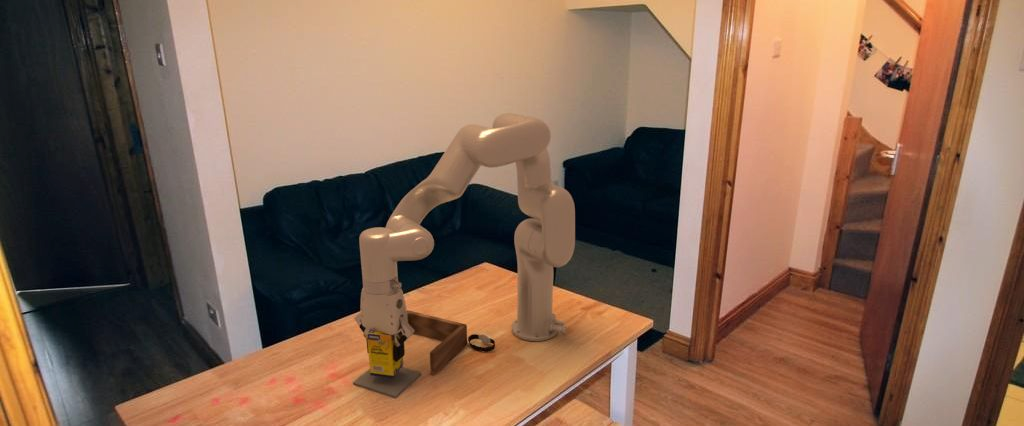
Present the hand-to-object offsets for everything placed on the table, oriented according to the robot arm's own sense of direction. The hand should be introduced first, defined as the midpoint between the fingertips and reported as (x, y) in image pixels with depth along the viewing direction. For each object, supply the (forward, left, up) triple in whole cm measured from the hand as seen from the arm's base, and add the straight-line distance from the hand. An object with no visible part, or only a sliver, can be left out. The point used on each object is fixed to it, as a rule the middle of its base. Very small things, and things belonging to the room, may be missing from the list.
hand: (386, 354), depth 123 cm
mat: (0, 0, -7) cm, 7 cm away
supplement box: (0, 0, -4) cm, 4 cm away
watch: (-13, -22, -7) cm, 27 cm away
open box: (0, -14, -7) cm, 15 cm away
